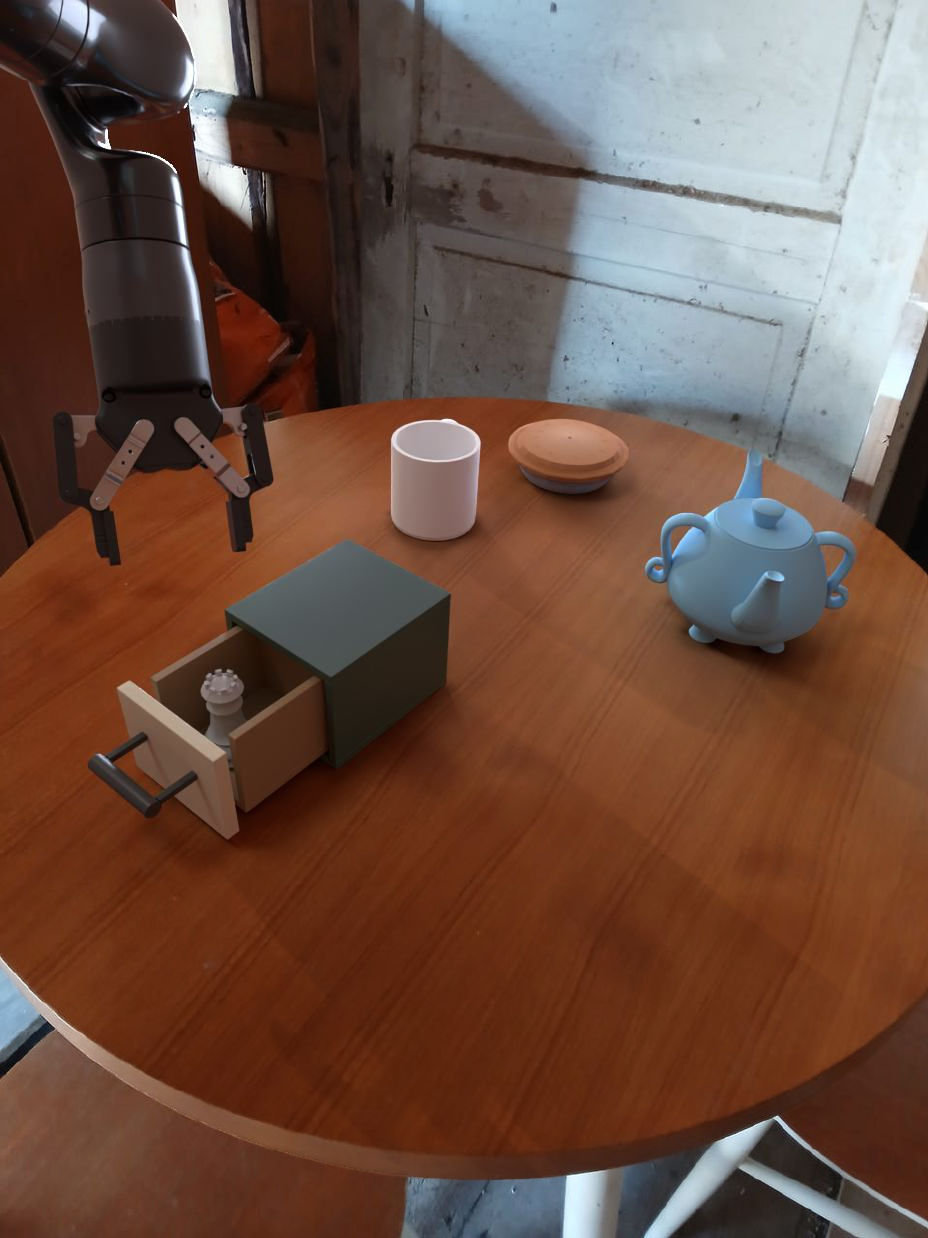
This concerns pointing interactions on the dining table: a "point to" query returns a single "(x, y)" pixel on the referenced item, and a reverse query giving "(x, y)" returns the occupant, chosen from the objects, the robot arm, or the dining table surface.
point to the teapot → (751, 569)
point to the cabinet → (355, 638)
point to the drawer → (261, 748)
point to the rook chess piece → (223, 708)
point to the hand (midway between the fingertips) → (179, 558)
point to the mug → (434, 479)
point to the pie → (567, 455)
